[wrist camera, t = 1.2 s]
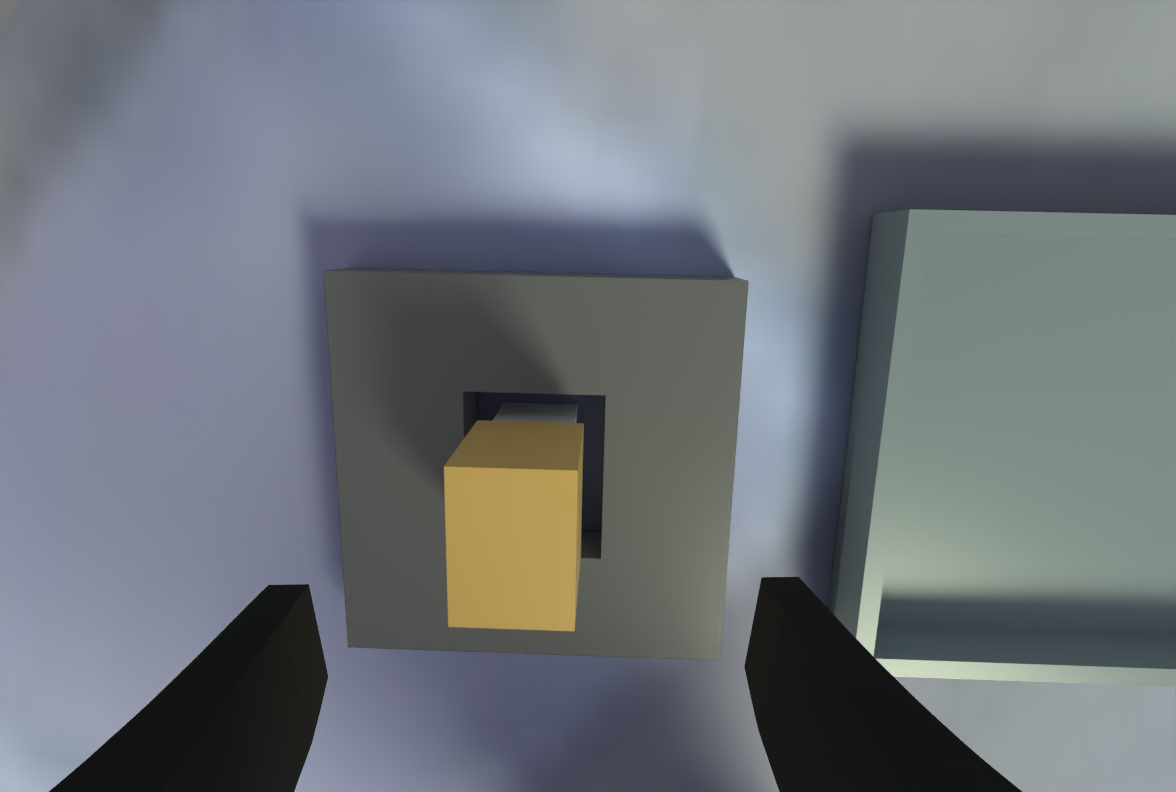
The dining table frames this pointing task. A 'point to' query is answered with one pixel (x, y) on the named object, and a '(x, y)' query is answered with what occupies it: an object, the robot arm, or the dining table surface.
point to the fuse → (515, 520)
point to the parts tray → (1014, 449)
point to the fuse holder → (543, 366)
